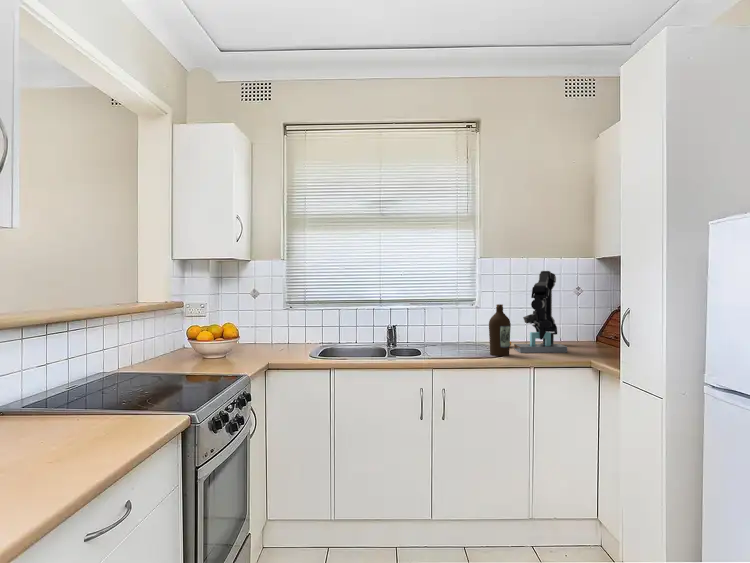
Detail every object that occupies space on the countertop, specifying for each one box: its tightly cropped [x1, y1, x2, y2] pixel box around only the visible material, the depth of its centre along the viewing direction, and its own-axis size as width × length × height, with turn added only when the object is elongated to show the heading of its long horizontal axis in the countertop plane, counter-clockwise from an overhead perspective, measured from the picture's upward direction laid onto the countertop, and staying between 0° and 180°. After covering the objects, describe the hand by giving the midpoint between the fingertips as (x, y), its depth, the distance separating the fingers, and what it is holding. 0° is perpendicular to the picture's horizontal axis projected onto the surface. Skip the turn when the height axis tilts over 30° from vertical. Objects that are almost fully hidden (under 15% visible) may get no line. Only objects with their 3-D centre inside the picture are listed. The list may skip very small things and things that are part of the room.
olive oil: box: [488, 303, 511, 357], centre depth 281 cm, size 11×11×25 cm
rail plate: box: [513, 343, 568, 354], centre depth 294 cm, size 12×24×3 cm, turn 91°
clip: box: [529, 331, 551, 346], centre depth 294 cm, size 3×10×8 cm, turn 91°
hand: (540, 339), depth 294 cm, fingers closed on clip, 3 cm apart
